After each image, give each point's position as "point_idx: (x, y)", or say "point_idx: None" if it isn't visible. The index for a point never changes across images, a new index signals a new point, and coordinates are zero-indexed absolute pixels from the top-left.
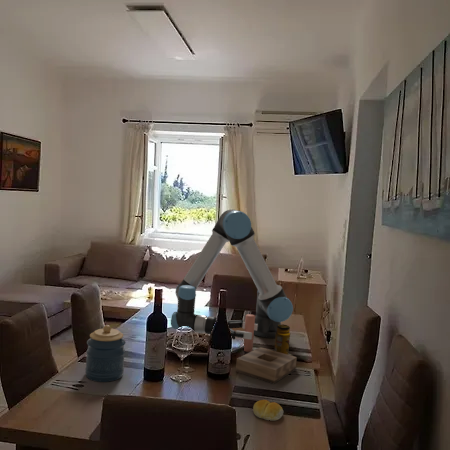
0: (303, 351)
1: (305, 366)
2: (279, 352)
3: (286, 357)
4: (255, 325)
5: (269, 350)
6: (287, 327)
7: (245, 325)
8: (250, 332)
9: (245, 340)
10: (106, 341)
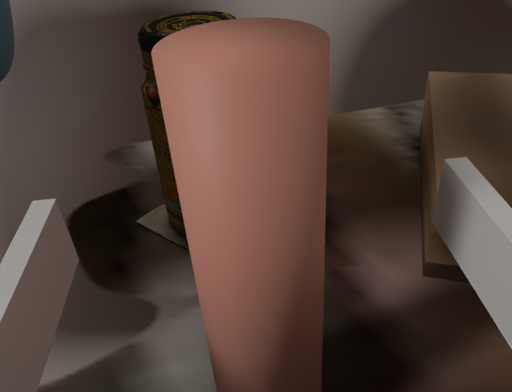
0: (123, 154)
1: (341, 120)
2: (432, 116)
3: (481, 88)
4: (52, 227)
5: (451, 150)
6: (210, 12)
7: (307, 223)
8: (456, 170)
9: (320, 356)
10: None
